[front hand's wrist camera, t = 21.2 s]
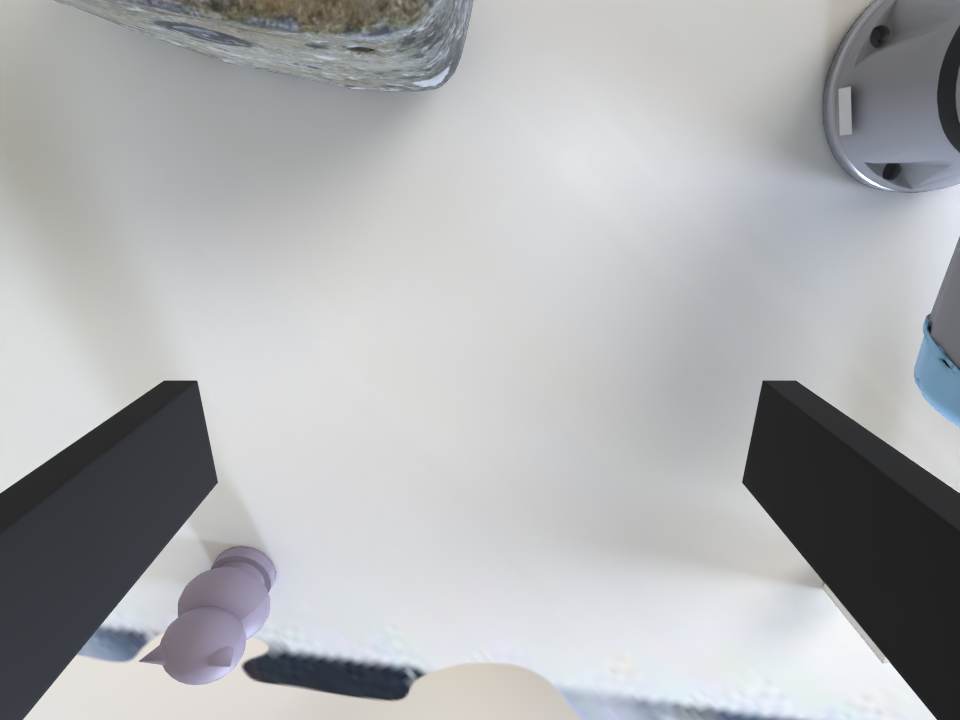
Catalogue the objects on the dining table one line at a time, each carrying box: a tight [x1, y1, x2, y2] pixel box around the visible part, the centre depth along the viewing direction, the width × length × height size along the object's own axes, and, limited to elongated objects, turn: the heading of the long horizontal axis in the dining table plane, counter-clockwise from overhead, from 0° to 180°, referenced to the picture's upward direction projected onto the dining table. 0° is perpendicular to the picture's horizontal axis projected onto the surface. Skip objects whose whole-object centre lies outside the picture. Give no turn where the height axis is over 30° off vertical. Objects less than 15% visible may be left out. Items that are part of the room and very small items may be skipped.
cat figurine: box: [139, 547, 276, 685], centre depth 50 cm, size 9×8×12 cm
